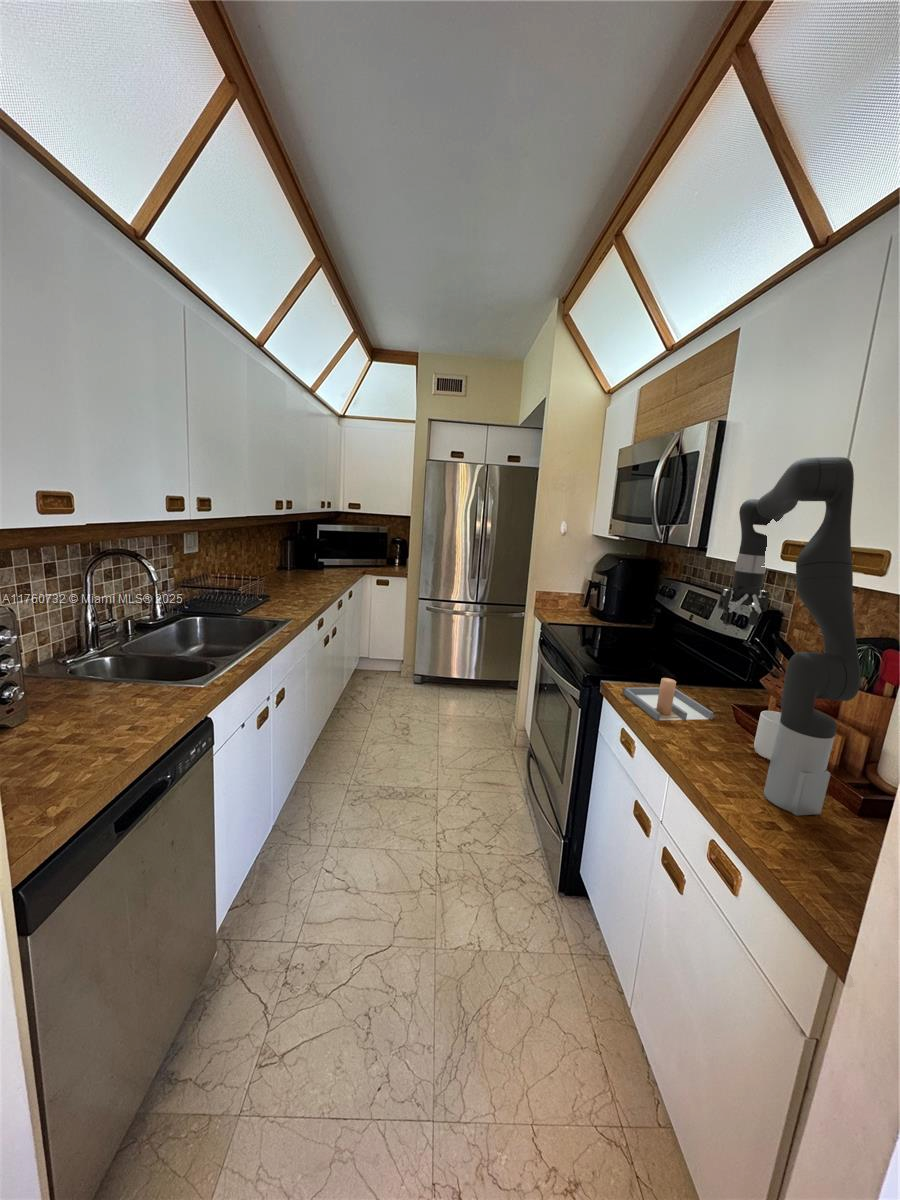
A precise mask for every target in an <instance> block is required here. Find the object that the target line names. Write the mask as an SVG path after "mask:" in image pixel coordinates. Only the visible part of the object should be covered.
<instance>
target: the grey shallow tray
mask: <svg viewBox="0 0 900 1200" xmlns="http://www.w3.org/2000/svg"><path fill="white" fill-rule="evenodd" d="M659 690H660V686H659V687H653V686H651V687H646V686H645V687H623V689H622V693H621V694H622V695H624V696H625V697H626V698H627V699H629V700H630V701H631V702H632V703H634V704H635V705H636V706H638V707H639V708H640V709H641V710H643V711H644V712H645V713H646V714H648V715H649V716H650V717H651V718H652V719H654V720H655V721H691V720H699V721H700V720H713V718H714V712H713V711H712V710H710V709H709V708H707V707H705V706H704V705H702V704H701V703H699V702H697V701H696V700H694V699H693V698H691V697H690V696H688V695H686V694H685V693H683V692H681V691H680V690H679V689H677V688H676V687H675V693H674V698H673V704H672V710H671V712H673V713H674V714H676V715H677V716H678V717H679V718H660V713H659V712H658V711H656V710H655V709H654V708H657V702H658V696H659Z"/></svg>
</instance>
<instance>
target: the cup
mask: <svg viewBox="0 0 900 1200" xmlns="http://www.w3.org/2000/svg"><path fill="white" fill-rule="evenodd" d="M780 718H781V711H780V712H779V711H776V710H775V711H774V710H763V711H761V712H760V715H759V720H758V723H757V728H756V733H755V739H754V741H753V742H754V743H753V750H754V751H755V753H756V754H757V753H758V754H757V755H759V756H761V757H763V758H764V759H766V758H767V760H769V761H771V757H772V753H773V748H774V744H775V739H776V735H777V731H778V726H779V722H780Z"/></svg>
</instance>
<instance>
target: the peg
mask: <svg viewBox="0 0 900 1200" xmlns="http://www.w3.org/2000/svg"><path fill="white" fill-rule="evenodd" d="M676 684H677V681H676V680H675V679H672V678H668V677H662V678H661V680H660V684H659V687H660V690H659V696H658V702H657V708H656V711H658V712H659V713H660V714H661V715H671V710H672V704H673V698H674V693H675V688H676V687H677V685H676Z"/></svg>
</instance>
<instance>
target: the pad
mask: <svg viewBox="0 0 900 1200" xmlns="http://www.w3.org/2000/svg"><path fill="white" fill-rule="evenodd" d="M654 709H655V710H656V708H654ZM660 718H679V717H678V716H677V715H676V714H674V713H673V712H671V715H661V714H660Z"/></svg>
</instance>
